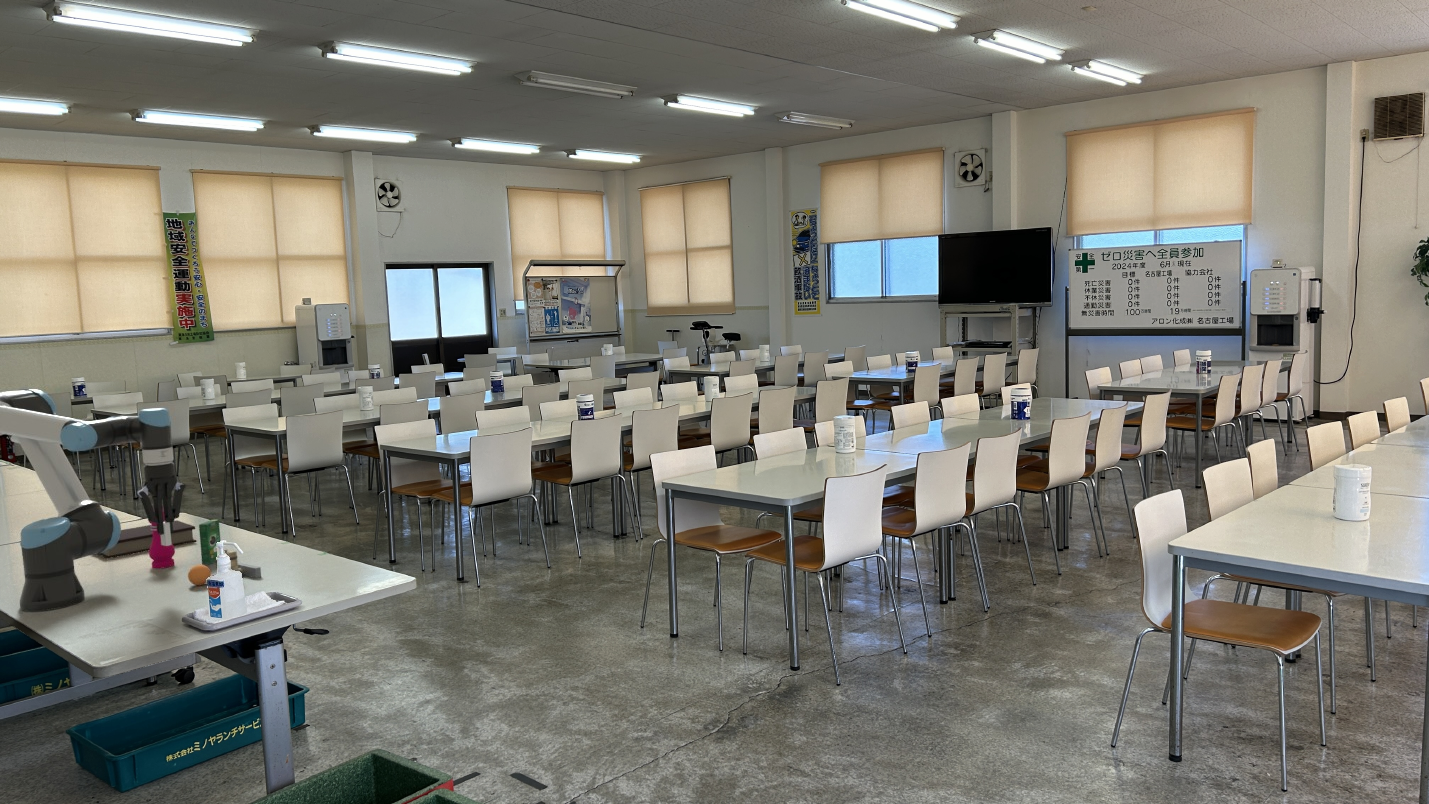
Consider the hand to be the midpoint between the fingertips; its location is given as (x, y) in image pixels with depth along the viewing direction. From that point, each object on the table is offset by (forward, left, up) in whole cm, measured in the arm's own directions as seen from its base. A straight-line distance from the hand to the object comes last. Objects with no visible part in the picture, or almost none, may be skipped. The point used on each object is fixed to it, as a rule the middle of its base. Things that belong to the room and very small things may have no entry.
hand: (166, 544), depth 282 cm
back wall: (+22, 0, -14) cm, 27 cm away
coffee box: (+26, +26, -15) cm, 40 cm away
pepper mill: (+16, +35, -15) cm, 41 cm away
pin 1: (+18, +2, -14) cm, 23 cm away
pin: (+18, -2, -14) cm, 23 cm away
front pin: (+12, 0, -13) cm, 18 cm away
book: (+27, +71, -15) cm, 77 cm away
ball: (+9, +2, -11) cm, 15 cm away
